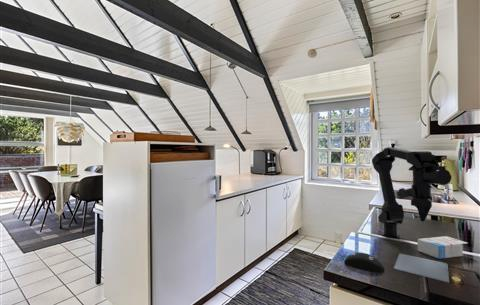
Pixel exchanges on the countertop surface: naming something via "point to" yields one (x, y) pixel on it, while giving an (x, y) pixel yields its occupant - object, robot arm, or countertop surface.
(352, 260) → the computer mouse
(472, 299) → the countertop surface
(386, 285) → the countertop surface
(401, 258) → the mat
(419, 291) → the countertop surface
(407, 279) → the countertop surface
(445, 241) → the ink box
